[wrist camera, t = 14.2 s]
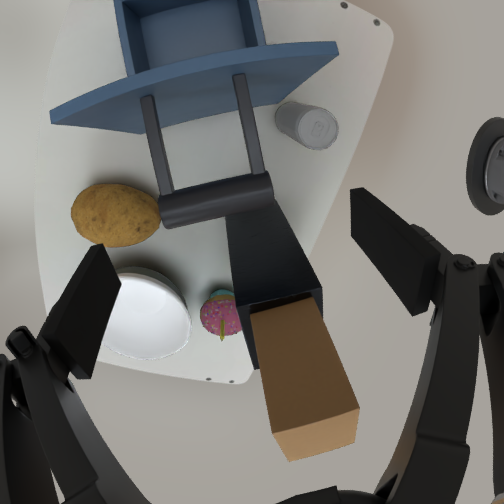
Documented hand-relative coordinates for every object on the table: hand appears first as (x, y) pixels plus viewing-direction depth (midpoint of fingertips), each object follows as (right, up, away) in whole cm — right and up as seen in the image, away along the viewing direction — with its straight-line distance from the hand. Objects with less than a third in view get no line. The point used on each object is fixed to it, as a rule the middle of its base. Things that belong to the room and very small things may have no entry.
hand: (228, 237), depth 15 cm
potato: (-19, +7, +27) cm, 34 cm away
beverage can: (+7, +18, +24) cm, 31 cm away
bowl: (-19, -8, +36) cm, 41 cm away
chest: (-6, +26, +17) cm, 32 cm away
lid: (-3, +11, +5) cm, 12 cm away
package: (+5, -9, +14) cm, 17 cm away
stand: (+2, +2, +33) cm, 33 cm away
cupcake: (-4, -9, +39) cm, 40 cm away
